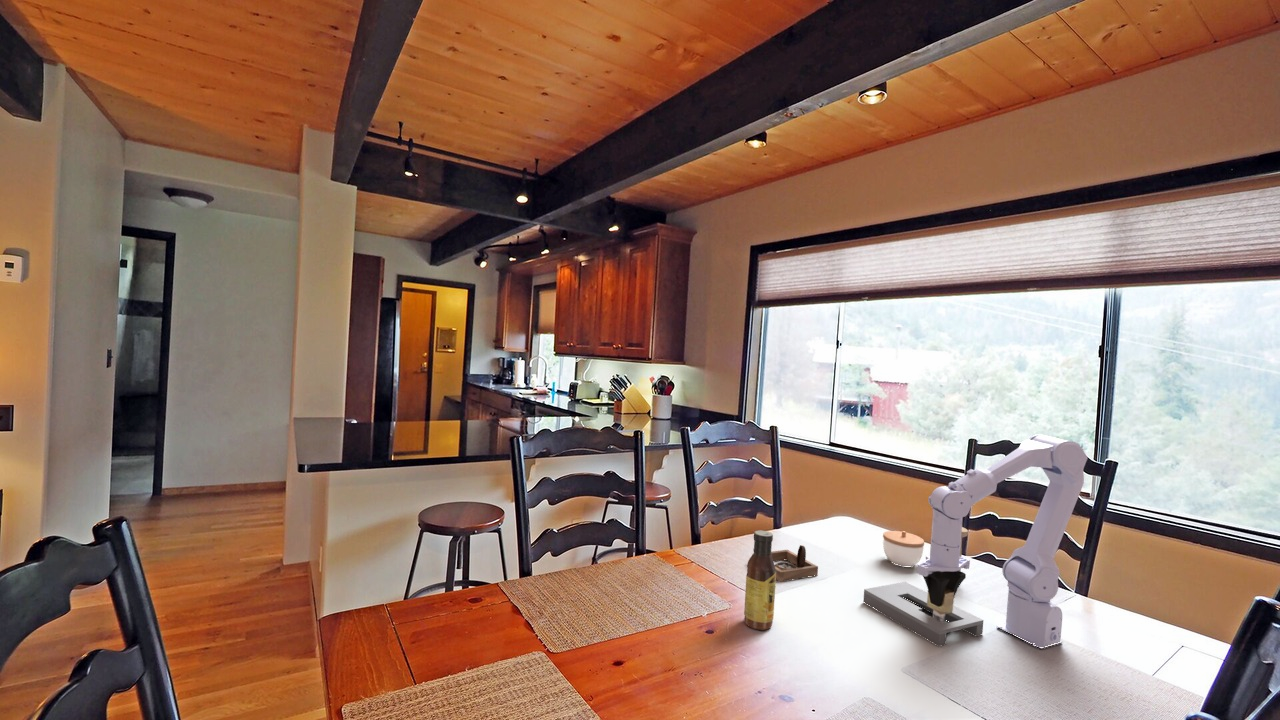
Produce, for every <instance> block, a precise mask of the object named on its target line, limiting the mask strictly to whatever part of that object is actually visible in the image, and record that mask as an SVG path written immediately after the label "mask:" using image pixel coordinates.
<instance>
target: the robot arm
mask: <svg viewBox="0 0 1280 720" xmlns="http://www.w3.org/2000/svg"><path fill="white" fill-rule="evenodd" d="M1087 461H1088V456H1087V454H1086V452H1085V450H1083V448H1082V446H1081V445H1080V444H1079V443H1077V442H1075V441H1074V440H1065V439H1061V438H1058V437H1054V436H1049V435H1046V434H1042V433H1038V434H1034V435H1032V436H1030V438H1027V439H1025V440H1022V441H1021V443H1020V445H1019V447H1017V448H1016V449H1014V450H1012V451H1011V452H1010V453H1008V454H1007V455H1006V456H1004V457H1003V458H1001V459H1000V460H998V461H996V462H995V463H994V464H992V465H991V466H989V467H988V468H986V469H985V470H984V469H980V468H975V469H972V468H970V469H969V470H967V471H966V473H967V474H965V475H964V476H962V477H960V478H958V479H957V480H955V481H951V482H949V483H948V485H947V486H939V487H936V488H935V489H934V490H933V491H932V492H931V495H930V496H928V497H927V498H928V504H929V505H930V507H931V509H932V522H931V535H930V551H929V555H925V561H922V563H917V564H916V565H917V568H916V574H918V575H919V576H920V575H921V577H923V579H924V581H925V584H926V587H927V593H928V592H929V597H930V602H931V603H932V604H934V605H936V606H938V607H940V606H941V604H942V601H943V594H944V590H945V588H947V589H949V590H951V591H953V592H954V597H955V595H956V593H957V591H958V589H959V587H960V586H961V584H962V583H963V581H964V580H965V579H966V575H967V574H966V573H965V572H963V571H962V569H965V570H969V569H970V563H971V560H970V559H968V558H966V557H963V556H962V557H960V547H961V533H962V527H963V518H964V517H967V516H968V514H969V512H970V511H971V510H970V509H971V508H972V507H973V506H974V505H975V504H977V503H978V502H980V501H982V500H983V499H985V498H987V497H989V496H990V495H992V494H994V493H995V492H996V491H997V488H998V487H997V486H998V484H999V483H1001V482H1003V481H1005V480H1007V479H1009V478H1011V477H1013V476H1014V475H1017V474H1018V473H1021V472H1022V471H1025V470H1027V469H1029V468H1031V467H1032V468H1041V469H1042V470H1043V472H1044V473H1045V475H1046V477H1047V478H1048V480H1049V483H1048V485H1047V488H1046V491H1045V492H1044V496H1043V498H1042V501H1041V503H1040V506H1039V508H1038V511H1037V513H1036V516H1035V519H1034V520H1033V523H1032V526H1031V528H1030V531H1029V533H1028V536H1027V538H1026V541H1025V544H1024V545H1023V546H1020V547H1018V548H1016V549H1014V550H1013V552H1012V554H1011V556H1010V557H1009V558H1008V559H1007V560H1006V561H1005V562H1004V564H1003V565H1002V575H1003V578H1004V579H1005V580H1006V582H1007V587H1008V590H1007V591H1008V593H1007V605H1006V615H1005V617H1006V618H1005V623H1000V624H997V625H995V626H996V628H997V627H998V628H1000V629H1002V630H1004V631H1007V632H1009V633H1011V634H1014V635H1016V636H1018V637H1020V638H1022V639H1024V640H1026V641H1028V642H1030V643H1032V644H1033V643H1035V644H1034V645H1036V646H1038V647H1045V646H1048V645H1051V644H1054V643H1058V642H1060V641H1061V640H1062V639H1061V638H1062V628H1063V627H1062V625H1063V611H1062V609H1061V608H1060V606H1058V605H1056V604H1054V603H1053V602H1051V600H1052V599H1054V598H1055V597H1056V595H1057V594H1058V591H1059V577H1060V574H1061V572H1060V569H1059V567H1058V564H1057V563H1056V561H1055V556H1056V553H1057V552H1058V549H1059V547H1060V543H1061V541H1062V539H1063V536H1064V534H1065V531H1066V529H1067V526H1068V524H1069V521H1070V519H1071V517H1072V514H1073V511H1074V510H1075V509H1074V508H1075V506H1076V504H1077V502H1078V499H1079V497H1080V494H1081V492H1082V489H1083V487H1084V483H1085V478H1084V475H1085V474H1084V468H1085V466H1086V463H1087ZM960 569H961V571H959V570H960ZM998 628H997V629H998ZM1000 629H999V630H1000ZM1002 630H1001V631H1002ZM1004 631H1003V632H1004Z"/></svg>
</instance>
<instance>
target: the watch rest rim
mask: <svg viewBox="0 0 1280 720" xmlns="http://www.w3.org/2000/svg"><path fill="white" fill-rule="evenodd" d="M771 552H772V553H771V554H772V558H773V561H775V562H779V561H780V560H782V561H785V560H784V559H787V560H789V561H791V562H792V563H791V562H790V563H791V564H793V563H794V564H796V565H797V553H795V552H792V551H791V550H789V549H782V550H775V551H771ZM752 555H753V553H752V554H751V556H752ZM787 560H786V561H787ZM789 561H788V562H789ZM780 562H781V561H780ZM794 564H793V565H794ZM796 565H795V566H796ZM775 569H776V581H778V582H780V583H782V582H788V581H787V580H789V581H793V580H792V579H795V580H798V579H797V578H801V579H803V578H802V577H807V578H809V577H808V576H813V577H815V576H814V575H817V576H818V572H819V571H818V570H819V566H818V565H816V564H814V563H812V562H811V561H809V560H807V559H805V564H804V567H800V568H797V567H796V568H793V569H787V570H780V569H779V568H777V567H775Z"/></svg>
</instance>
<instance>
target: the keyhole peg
mask: <svg viewBox="0 0 1280 720" xmlns="http://www.w3.org/2000/svg"><path fill="white" fill-rule="evenodd" d="M927 593H928V598H927V606H928V607H930V608H932V609H933V613H932V617H933V618H934V619H936V620H938V621H940V622H942V623H944V624H946V623H950V622H948V621H946V620H945V614H947V613H951V612H953V605H954V599H955V596H954V592H953V591H951V590H949V589H947V588H945V590H944V594H943V601H942V604H941V606H940V607H938V606H936V605H934V604H932V603H931V602H930V597H929V592H928V591H927Z"/></svg>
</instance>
